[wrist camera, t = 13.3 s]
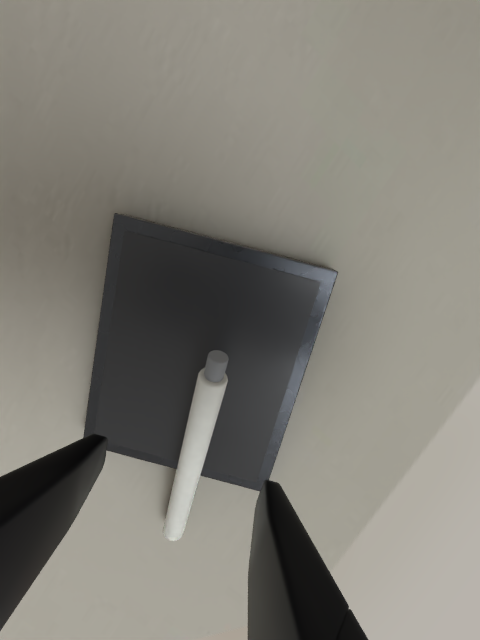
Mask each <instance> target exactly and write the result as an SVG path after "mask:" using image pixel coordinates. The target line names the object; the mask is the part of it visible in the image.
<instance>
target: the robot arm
mask: <svg viewBox="0 0 480 640" xmlns="http://www.w3.org/2000/svg"><path fill="white" fill-rule="evenodd" d="M107 444H108V439H107V437H105V436H101V435H98V434H91V435H89V436H87V437H85V438H83V439H81V440H78V441H76V442H74V443H72V444H70V445H68V446H66V447H63V448H61V449H59V450H57V451H55V452H53V453H51V454H48V455H46V456H44V457H42V458H40V459H38V460H36V461H33V462H31V463H29V464H27V465H25V466H23V467H21V468H18V469H16V470H14V471H12V472H10V473H8V474H6V475H3V476H1V477H0V631H1V629H2V628H3V626H4V625H5V623H6V622H7V620H8V619H9V617H10V616H11V614H12V613H13V611H14V610H15V608H16V607H17V605H18V604H19V603H20V601H21V600H22V598H23V597H24V595H25V594H26V592H27V591H28V589H29V588H30V586H31V585H32V583H33V582H34V580H35V579H36V577H37V576H38V574H39V573H40V571H41V570H42V568H43V567H44V566H45V564H46V563H47V561H48V560H49V558H50V557H51V555H52V554H53V552H54V551H55V549H56V548H57V546H58V545H59V543H60V542H61V540H62V539H63V537H64V536H65V534H66V533H67V531H68V530H69V528H70V527H71V525H72V523H73V522H74V520H75V518H76V516H77V515H78V513H79V511H80V509H81V507H82V505H83V503H84V502H85V500H86V498H87V496H88V494H89V492H90V491H91V489H92V487H93V485H94V483H95V481H96V479H97V478H98V476H99V474H100V472H101V470H102V468H103V465H104V462H105V456H106V450H107ZM348 608H349V606H348V604H347V602H346V601H345V599H344V597H343V595H342V593H341V591H340V590H339V588H338V586H337V584H336V583H335V581H334V579H333V577H332V576H331V574H330V572H329V570H328V569H327V567H326V565H325V563H324V562H323V560H322V558H321V556H320V554H319V553H318V551H317V549H316V547H315V546H314V544H313V542H312V540H311V539H310V537H309V535H308V533H307V532H306V530H305V528H304V526H303V524H302V523H301V521H300V519H299V517H298V516H297V514H296V512H295V510H294V509H293V507H292V505H291V503H290V502H289V500H288V498H287V496H286V494H285V493H284V491H283V489H282V487H281V486H280V484H279V483H277V482H273V481H269V480H265V481H264V482H263V485H262V488H261V491H260V494H259V497H258V500H257V503H256V507H255V514H254V523H253V533H252V542H251V551H250V560H249V572H248V640H368V639H367V637H366V635H365V633H364V632H363V630H362V628H361V627H360V625H359V623H358V621H357V620H356V618H355V616H354V614H353V612H352V611H351V610H350V609H348Z"/></svg>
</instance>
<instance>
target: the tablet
mask: <svg viewBox="0 0 480 640" xmlns="http://www.w3.org/2000/svg"><path fill="white" fill-rule="evenodd" d="M337 274H338V272H337V271H335V270H333V269H330V268H326V267H322V266H319V265H315V264H311V263H307V262H303V261H300V260H296V259H292V258H288V257H284V256H280V255H277V254H273V253H269V252H265V251H261V250H258V249H254V248H250V247H246V246H242V245H238V244H235V243H231V242H227V241H223V240H219V239H216V238H212V237H208V236H204V235H200V234H196V233H193V232H189V231H185V230H181V229H177V228H174V227H170V226H166V225H162V224H158V223H155V222H151V221H147V220H143V219H139V218H135V217H132V216H128V215H124V214H117V213H115V214H114V219H113V227H112V234H111V241H110V248H109V256H108V263H107V270H106V277H105V285H104V292H103V299H102V306H101V314H100V321H99V328H98V335H97V343H96V350H95V357H94V364H93V372H92V379H91V386H90V393H89V401H88V408H87V415H86V422H85V430H84V437H83V438H85V437H87V436H89V435H91V434H98V435H101V436H105V437H107V439H108V444H107V451H111V452H115V453H119V454H122V455H126V456H130V457H134V458H137V459H141V460H145V461H148V462H152V463H156V464H160V465H163V466H167V467H171V468H175V469H177V466H178V461H179V457H180V453H181V448H182V444H183V439H184V435H185V430H186V426H187V422H188V417H189V413H190V408H191V404H192V400H193V395H194V391H195V386H196V382H197V378H198V374H199V372H200V371H201V370H202V369H203V368H205V366H206V361H207V357H208V354H209V353H210V352H211V351H214V350H219V351H222V352H224V353H226V354H227V356H228V358H229V360H228V364H227V367H226V371H225V373H226V375H227V378H228V382H227V386H226V389H225V392H224V396H223V399H222V403H221V406H220V410H219V413H218V416H217V420H216V423H215V427H214V430H213V434H212V437H211V440H210V444H209V447H208V451H207V454H206V458H205V461H204V464H203V468H202V471H201V476H205V477H208V478H212V479H216V480H220V481H223V482H227V483H231V484H235V485H238V486H242V487H246V488H250V489H253V490H257V491H261V488H262V485H263V482H264V481H265V480H269V478H270V475H271V472H272V469H273V466H274V463H275V460H276V457H277V454H278V451H279V448H280V445H281V442H282V439H283V436H284V433H285V430H286V427H287V424H288V421H289V418H290V415H291V412H292V409H293V406H294V403H295V400H296V397H297V394H298V391H299V388H300V385H301V382H302V379H303V376H304V373H305V370H306V367H307V364H308V361H309V358H310V355H311V352H312V349H313V346H314V343H315V340H316V337H317V334H318V331H319V328H320V325H321V322H322V319H323V316H324V313H325V310H326V307H327V304H328V301H329V298H330V295H331V292H332V289H333V286H334V283H335V280H336V277H337Z"/></svg>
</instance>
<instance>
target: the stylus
mask: <svg viewBox="0 0 480 640" xmlns="http://www.w3.org/2000/svg"><path fill="white" fill-rule="evenodd" d="M228 360H229V358H228V356H227V354H226V353H224V352H222V351H219V350H214V351H211V352H210V353H209V354H208V357H207V361H206V366H205V368H203V369H202V370H201V371H200V372H199V374H198V378H197V382H196V386H195V391H194V395H193V400H192V404H191V408H190V413H189V417H188V422H187V426H186V430H185V435H184V439H183V444H182V448H181V453H180V457H179V461H178V466H177V470H176V475H175V479H174V483H173V488H172V492H171V497H170V501H169V506H168V510H167V514H166V519H165V523H164V528H163V533H164V536H165V537H166V538H167V539H168V540H170V541H176V540H178V539H180V538H181V537H182V535H183V533H184V529H185V526H186V523H187V519H188V516H189V512H190V509H191V505H192V502H193V499H194V495H195V492H196V488H197V485H198V482H199V478H200V475H201V471H202V468H203V464H204V461H205V458H206V454H207V451H208V447H209V444H210V440H211V437H212V434H213V430H214V427H215V423H216V420H217V416H218V413H219V410H220V406H221V403H222V399H223V396H224V392H225V389H226V386H227V382H228V378H227V375H226V373H225V371H226V367H227V364H228Z"/></svg>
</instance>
